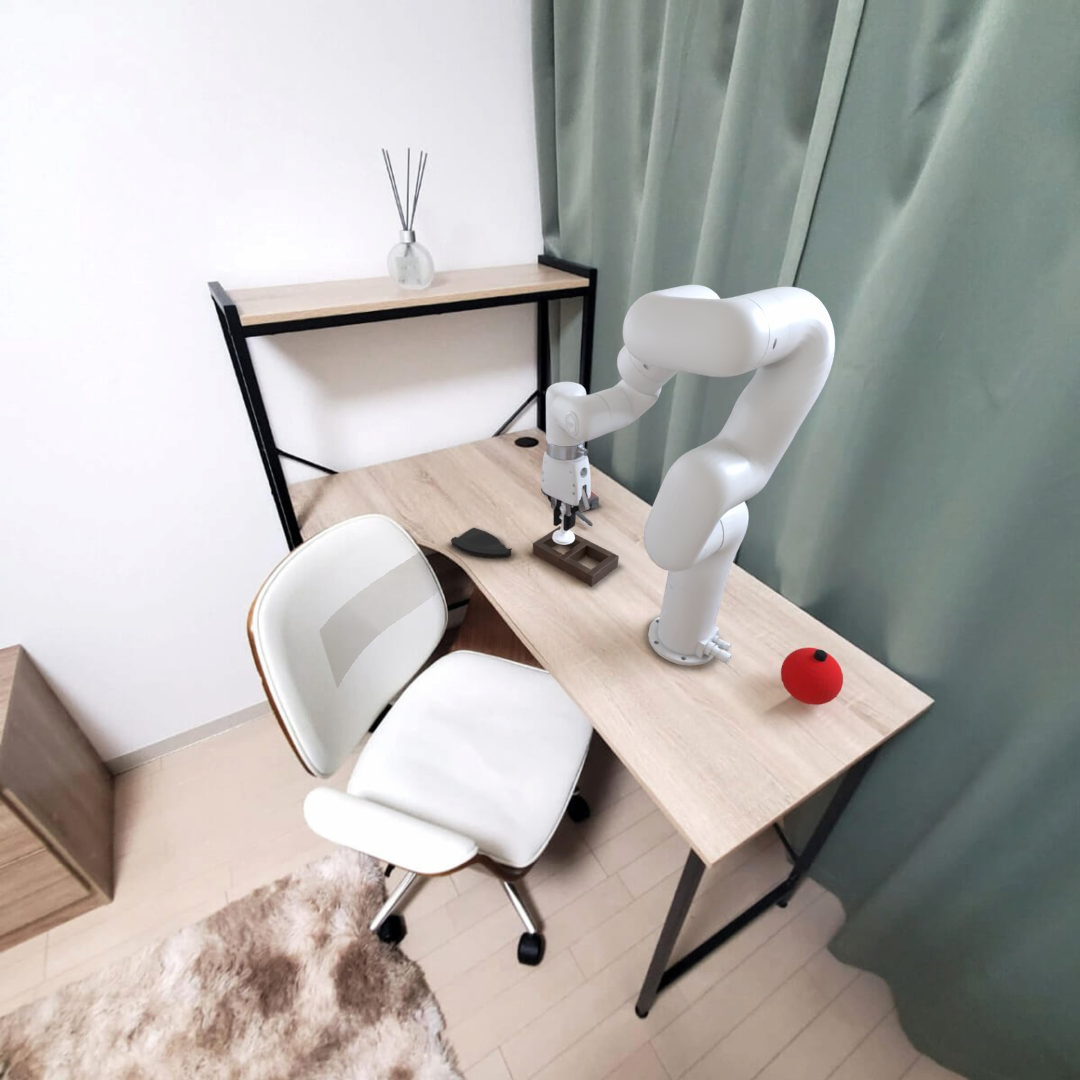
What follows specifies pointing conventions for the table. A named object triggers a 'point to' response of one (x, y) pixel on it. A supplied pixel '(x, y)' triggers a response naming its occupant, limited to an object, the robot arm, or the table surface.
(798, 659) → the ornament
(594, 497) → the walkie-talkie
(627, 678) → the table surface
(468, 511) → the table surface
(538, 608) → the table surface
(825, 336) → the robot arm
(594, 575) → the rack
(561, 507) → the chess piece
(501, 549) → the curved wedge
